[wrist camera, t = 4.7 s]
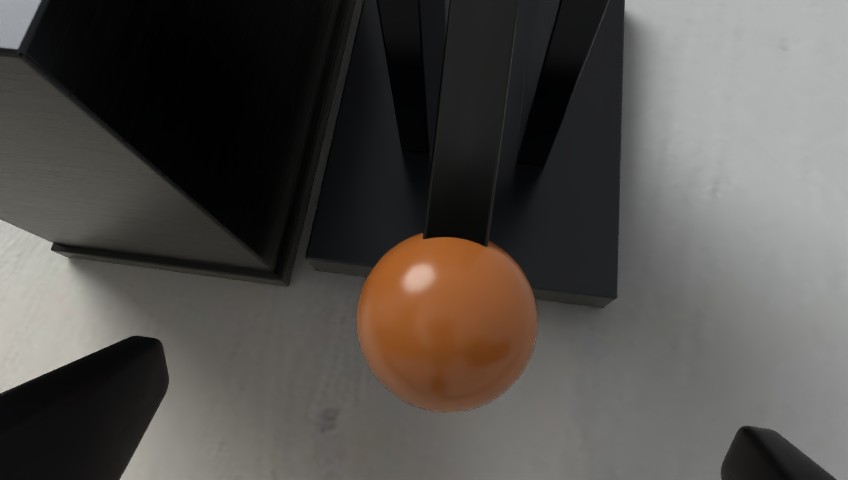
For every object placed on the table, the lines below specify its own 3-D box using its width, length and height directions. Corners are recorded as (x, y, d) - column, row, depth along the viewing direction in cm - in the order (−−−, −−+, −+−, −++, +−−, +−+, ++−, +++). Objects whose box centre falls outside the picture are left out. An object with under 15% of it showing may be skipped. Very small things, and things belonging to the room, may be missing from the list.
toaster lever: (517, 383, 11) (534, 464, 8) (368, 362, 11) (325, 431, 8) (612, -299, 9) (680, -543, 6) (437, -305, 10) (420, -542, 7)
